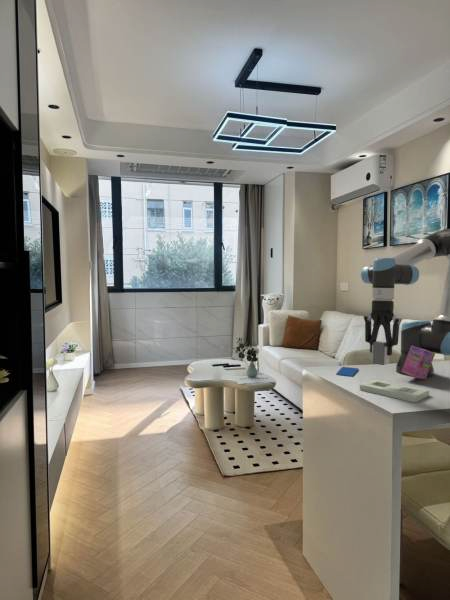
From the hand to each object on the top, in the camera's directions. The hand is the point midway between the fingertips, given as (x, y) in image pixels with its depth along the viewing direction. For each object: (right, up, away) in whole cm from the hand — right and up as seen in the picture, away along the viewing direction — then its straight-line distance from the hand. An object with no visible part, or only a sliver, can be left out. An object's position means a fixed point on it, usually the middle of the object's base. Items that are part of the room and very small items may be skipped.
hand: (380, 362), depth 145 cm
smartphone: (-3, -9, +28) cm, 30 cm away
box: (+20, -8, +15) cm, 26 cm away
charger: (0, 0, 0) cm, 0 cm away
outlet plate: (+4, -10, -3) cm, 11 cm away
